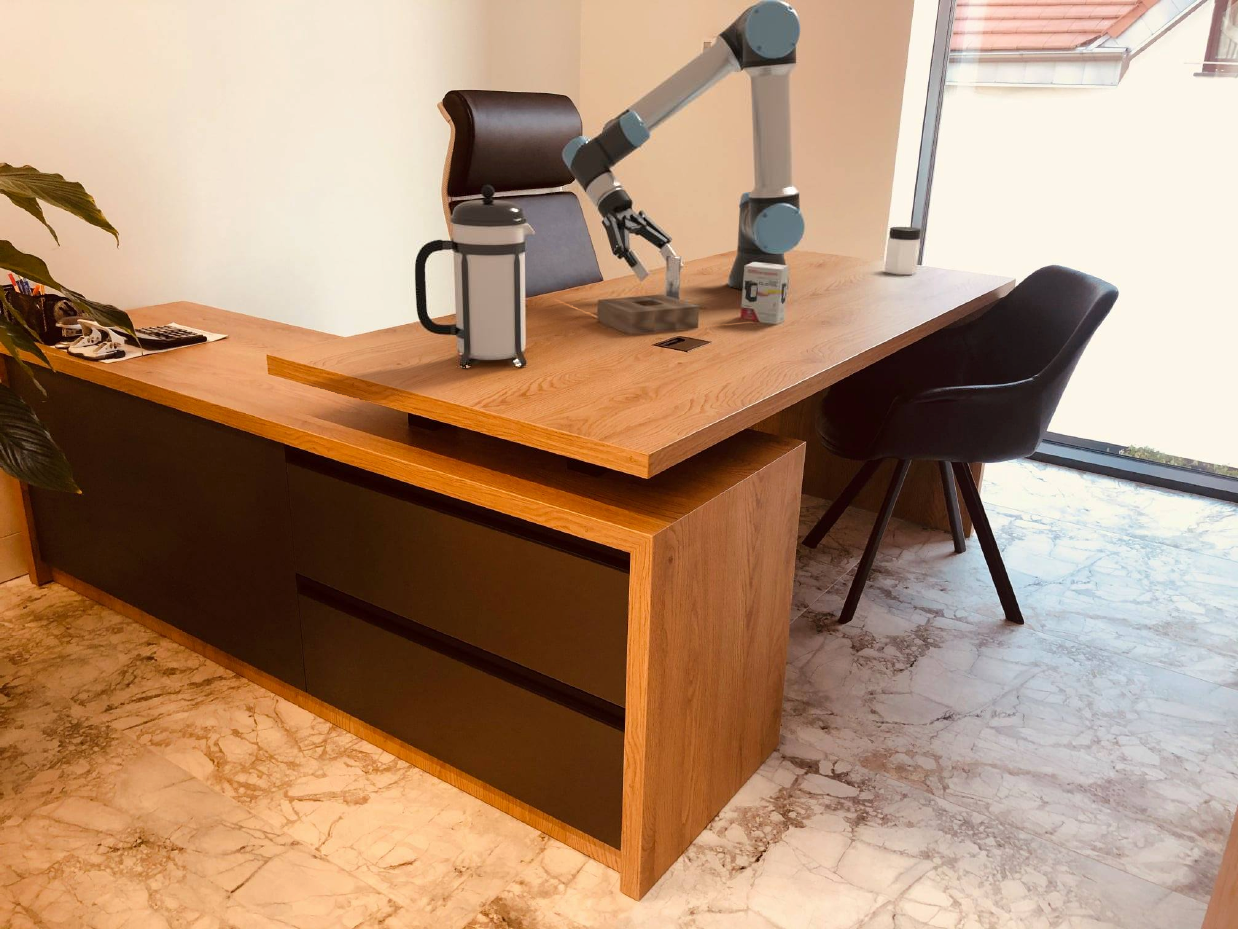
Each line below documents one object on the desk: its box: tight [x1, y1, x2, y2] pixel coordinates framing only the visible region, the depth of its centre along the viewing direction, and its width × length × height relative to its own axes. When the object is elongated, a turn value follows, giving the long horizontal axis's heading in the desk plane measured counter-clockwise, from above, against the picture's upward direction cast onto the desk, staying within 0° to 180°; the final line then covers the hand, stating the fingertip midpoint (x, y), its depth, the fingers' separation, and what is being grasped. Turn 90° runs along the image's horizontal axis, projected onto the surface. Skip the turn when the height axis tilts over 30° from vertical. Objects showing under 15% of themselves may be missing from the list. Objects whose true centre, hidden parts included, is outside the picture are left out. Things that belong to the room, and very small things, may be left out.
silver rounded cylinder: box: [664, 255, 682, 300], centre depth 224 cm, size 3×3×11 cm
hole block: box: [596, 293, 700, 336], centre depth 208 cm, size 16×14×4 cm
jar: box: [884, 226, 922, 276], centre depth 278 cm, size 9×8×12 cm
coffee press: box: [414, 184, 536, 369], centre depth 172 cm, size 17×16×30 cm
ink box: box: [740, 262, 790, 325], centre depth 213 cm, size 9×5×12 cm, turn 62°
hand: (662, 273), depth 224 cm, fingers open, 13 cm apart
